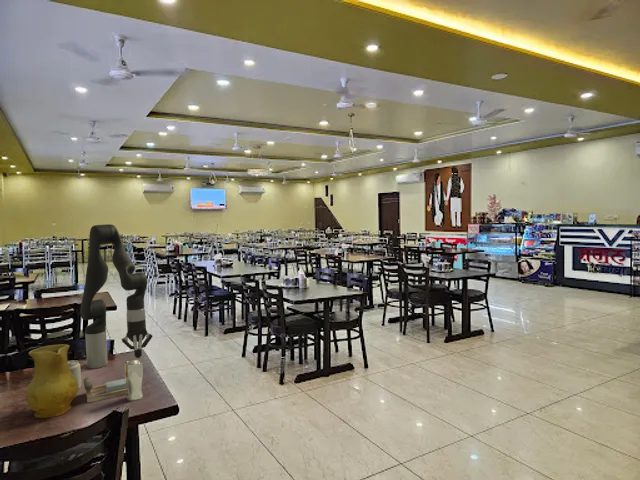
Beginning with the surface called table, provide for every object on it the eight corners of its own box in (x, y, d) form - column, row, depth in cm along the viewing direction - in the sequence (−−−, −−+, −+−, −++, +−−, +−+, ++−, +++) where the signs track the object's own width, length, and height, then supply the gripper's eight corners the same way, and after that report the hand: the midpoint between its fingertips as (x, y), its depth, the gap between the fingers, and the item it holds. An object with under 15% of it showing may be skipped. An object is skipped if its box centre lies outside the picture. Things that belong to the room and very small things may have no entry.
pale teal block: (105, 391, 183) (105, 382, 183) (125, 387, 188) (125, 378, 187) (108, 396, 178) (107, 387, 178) (128, 391, 183) (128, 382, 182)
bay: (84, 393, 181) (83, 376, 180) (126, 384, 190) (125, 368, 189) (85, 403, 172) (84, 385, 171) (130, 393, 180) (129, 376, 180)
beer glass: (126, 402, 172) (124, 366, 171) (125, 396, 178) (123, 361, 177) (144, 398, 175) (143, 363, 174) (143, 392, 181) (141, 358, 180)
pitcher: (21, 424, 154) (20, 356, 154) (32, 406, 171) (31, 344, 171) (75, 416, 161) (74, 350, 161) (81, 399, 178) (80, 339, 178)
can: (58, 390, 184) (56, 363, 183) (74, 384, 191) (73, 358, 190) (68, 393, 181) (66, 366, 180) (85, 387, 187) (83, 360, 187)
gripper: (150, 314, 192) (152, 352, 193) (118, 319, 185) (120, 358, 186) (153, 318, 186) (155, 356, 187) (120, 322, 179) (122, 363, 180)
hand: (138, 357), depth 186 cm, fingers closed
